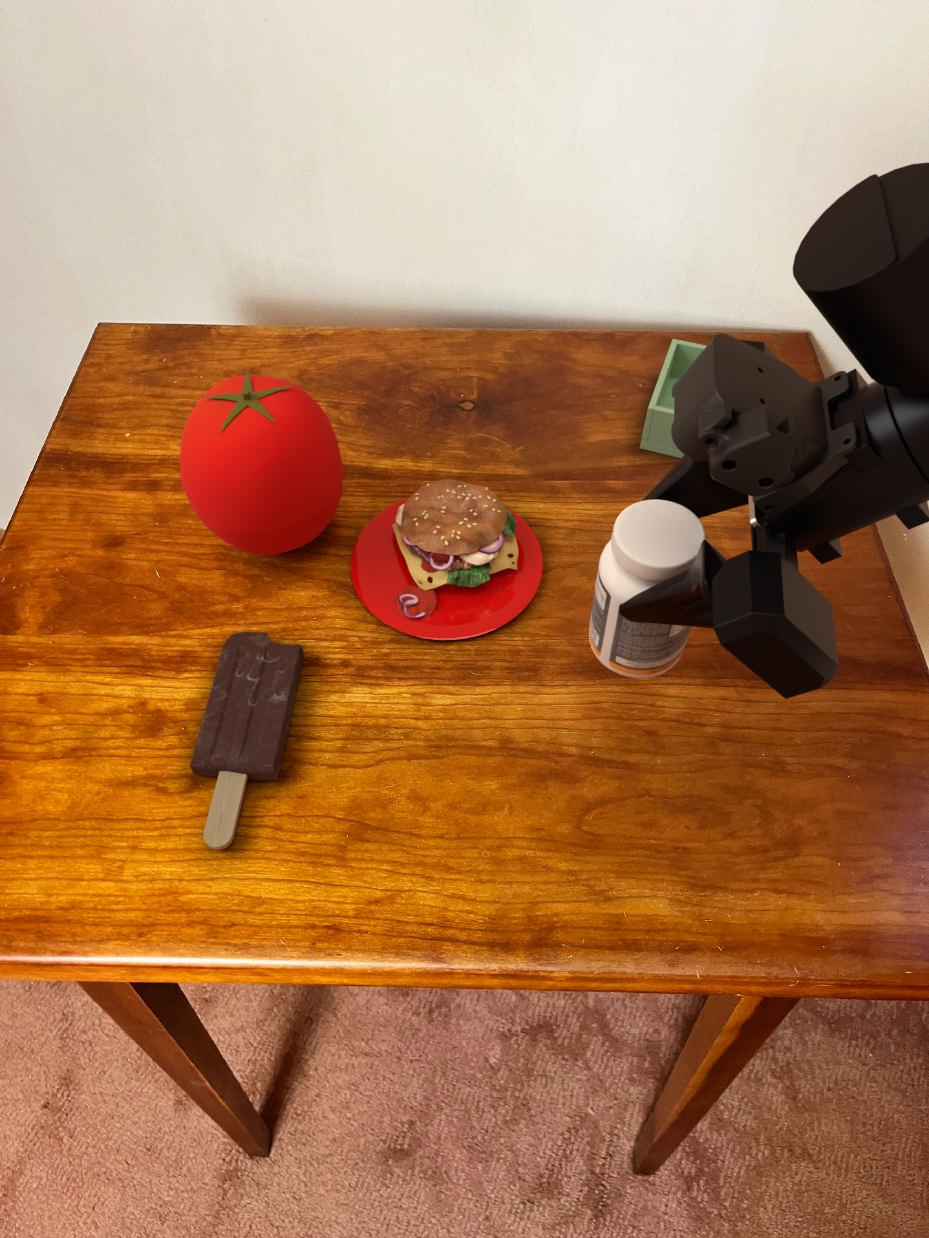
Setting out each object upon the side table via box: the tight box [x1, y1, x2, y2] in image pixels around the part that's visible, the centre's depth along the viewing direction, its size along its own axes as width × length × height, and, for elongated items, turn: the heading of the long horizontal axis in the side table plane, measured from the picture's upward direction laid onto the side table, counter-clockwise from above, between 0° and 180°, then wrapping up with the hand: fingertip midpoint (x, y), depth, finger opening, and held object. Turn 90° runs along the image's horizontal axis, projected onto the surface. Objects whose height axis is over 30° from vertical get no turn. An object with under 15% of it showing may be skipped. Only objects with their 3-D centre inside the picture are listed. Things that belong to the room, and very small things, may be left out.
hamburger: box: [350, 478, 544, 641], centre depth 64 cm, size 14×14×6 cm
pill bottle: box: [588, 500, 706, 679], centre depth 50 cm, size 6×6×10 cm
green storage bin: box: [639, 338, 707, 459], centre depth 74 cm, size 9×9×4 cm
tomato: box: [179, 368, 344, 556], centre depth 64 cm, size 11×11×13 cm
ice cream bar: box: [189, 631, 305, 851], centre depth 58 cm, size 5×2×15 cm
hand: (625, 569), depth 49 cm, fingers closed on pill bottle, 6 cm apart
